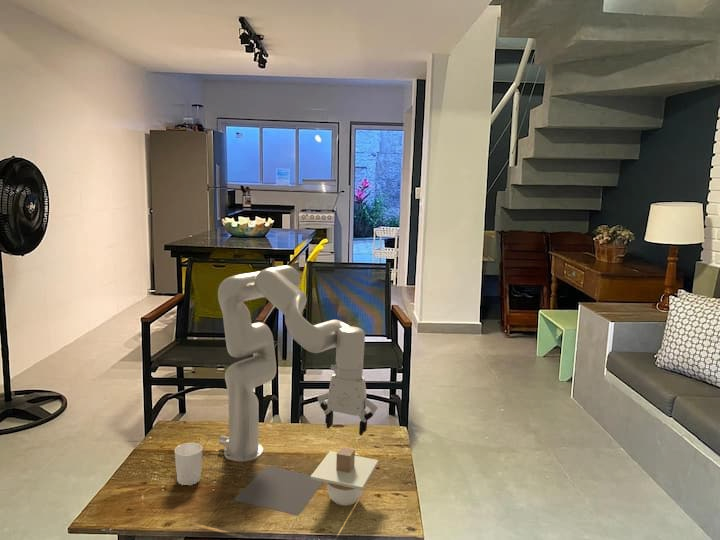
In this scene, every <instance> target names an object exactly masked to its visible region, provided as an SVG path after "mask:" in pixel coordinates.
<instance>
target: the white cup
mask: <svg viewBox="0 0 720 540" xmlns="http://www.w3.org/2000/svg"><path fill="white" fill-rule="evenodd" d="M174 459H175V461H174V462H175V471H176V479H177V480H176V481H177V483H178V484H179V485H180V484H181V485H180V486H183V485H189V486H194V485H195V484H196V485H197V484H198V483H199V482H201V480H200V479H201V477H202V469H203V467H202V466H203V465H202V464H203V463H202V462H203V445H202V444H200V443H197V442H185V443H182V444H180V445H178V446H176V447H175V448H174ZM197 482H198V483H197ZM193 484H194V485H193Z"/></svg>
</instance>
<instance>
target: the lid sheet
mask: <svg viewBox="0 0 720 540" xmlns="http://www.w3.org/2000/svg"><path fill="white" fill-rule="evenodd" d="M378 464H379V460H378V459H375V458H370V457H369V458H368V457H365V456H359V455H356V450H355V449H354V448H349V447H343V446H342V447H340V449H339V450H338V451H333V450H329V452H328V453H327V454H326V456H325V457H324V458H323V459H322V461H321V462H320V464H319V465H317V467H316V468H315V470H314V471H313V472H312V473H311V474H310V475H311V476H310V479H313V480H317V481H322V482H323V483H326V484H327V483H332V484H336V485H341V486H346V487H351V488H355V489H360V490H363V491H364V488H365V487H366V484H367V483H368V481H369V480H370V478H371V476H372V474H373V473H374V471H375V469H376V467H377V465H378Z"/></svg>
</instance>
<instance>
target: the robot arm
mask: <svg viewBox="0 0 720 540" xmlns="http://www.w3.org/2000/svg"><path fill="white" fill-rule="evenodd" d="M300 284H301V276H300V274H299V271H297V269H296V268H294V267H293V266H292V265H291V266H290V265H278V266H272V267H267V268H264V269H262V270H258V271H253V272H245V273H239V274H234V275H232V276H228V277H227V278H225V279H223V281H222V282H220V283H219V286H218V289H217V300H218V304H219V307H220V310H221V314H222V319H223V321H222V322H223V329H224V336H225V344H226V349H227V353H228V354H229V356H231V357H233V358H243V357H247V356H249V355H252V356H251V357H249V358H245V359H241V360H239V361H237V362H234V363H232V364H231V365H229V367H227V369H226V370H225V374H224V381H225V385H226V391H227V397H228V398H227V399H228V402H227V403H228V436H225V435H220V436H219V442H218V444H219V445H221V446H225V448H224V450H223V455H224V457H225V459H226V460H228V461H233V462H249V461H253V460H256V459H259V458H260V457H261V456H262V454H263V453H264V447H263V446H262V445H261V444H260V443H259V432H260V431H259V426H260V425H259V423H260V422H259V420H260V419H259V408H260V407H259V399H258V397H257V394H255V392H254V389H255V388H257V387H259V386H262V385H264V384H267V383H268V382H271V381H272V380H274V378H275V377H276V374H277V360H276V359H277V358H276V349H275V341H274V336H273V333H272V331H271V329H270V327H269V325H267V324H266V323H264V322H259V321H258V322H257V321H256V322H254V323H252V318H251V313H250V310H249V307H248V306H247V305H246V304H245V303H244V302H247V301H252V300H253V301H254V300H256V299H261V298H265V299H266V300H267V301H268V302H270V303H271V304H272V305H273V306H274V307H275V308H276V309H278V311H280V312H281V313H282V314H283V315H284V322H285V327H286V330H287V332H288V333H289V336H290V337H291V338H292V340H294V341H295V342H296V344H298V345H300V347H302V348H303V349H304V350H306V351H307V352H310V353H311V354H312V353H313V354H319V353H323V352H325V351H327V350H330V349H334V348H336V353H335V364H331V365H330V370H332V371H333V372H334V373H333V374H332V375H331V378H330V383H329V388H328V392H326V393H322V394H320V395H319V396H317V401H318V403H319V406H320V408H321V409H322V411H323V413H324V415H325V422H324V423H325V424H326V429H330V427H332V426H333V423H334V422H333V421H334V413H339V414H343V415H344V414H345V415H349V416H356V417H357V416H358V417H359V419H360V421H359V431H358V432H359V433H358V434H359V435H360V436H363V434H365V433H364V432H366V431H367V430H368V429H367V427H368V420H370V419H371V418H373V416H374V415H375V413H376V411H377V410H378V409H379V408H378V406H377V405H376V404H374V403H373V402H372V401H370V400H369V399H367V386H366V380H365V376H363V372H364V358H365V357H364V356H365V355H364V354H365V343H366V342H365V339H366V333H365V331H364V330H363V329H362V328H360V327H358V326H353V325H352V326H351V325H349V324H347V323H346V322H343V321H342V320H340V319H339V320H338V319H331V320H327V321H323V322H320V323H316V324H312V323H310V322H309V321H308V320H307V319H306V318H305V317H304V316H303V315H302V313H301V312H302V311H303V310H304V309H305V307H306V304H307V301H308V300H307V299H308V298H307V295H306V293H305V292H304V291H303V290H302V289H300V288H299V287H300ZM325 400H327V402H326V401H325ZM366 407H367V408H368V409H369V410H370V411H369V412H367V411H366Z"/></svg>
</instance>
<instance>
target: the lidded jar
mask: <svg viewBox="0 0 720 540" xmlns="http://www.w3.org/2000/svg"><path fill="white" fill-rule="evenodd" d="M326 489H327V494H328V496H329V498H330V499H331V500H332V502H334V503H335V504H337V505H339V506H345V507H346V506H347V507H349V506H352V505H353V504H355V503H356V502H358V501H359V500H360V498H361V496H362V494H363V492H364V489H363V490H360V489H355V488H351V487H346V486H341V485H336V484H332V483H327V482H326Z"/></svg>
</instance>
